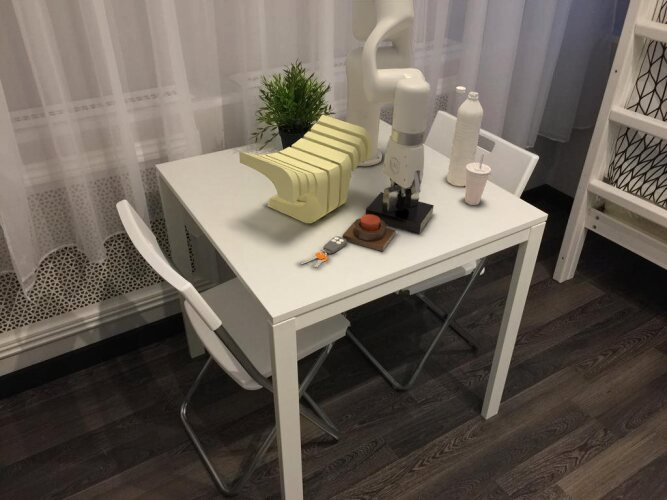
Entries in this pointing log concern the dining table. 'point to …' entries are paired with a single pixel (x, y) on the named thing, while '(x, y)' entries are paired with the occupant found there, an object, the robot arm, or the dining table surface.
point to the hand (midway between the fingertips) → (400, 205)
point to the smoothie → (476, 181)
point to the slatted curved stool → (314, 168)
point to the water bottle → (465, 138)
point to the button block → (369, 236)
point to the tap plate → (402, 215)
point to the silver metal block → (395, 198)
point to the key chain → (328, 249)
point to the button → (370, 222)
